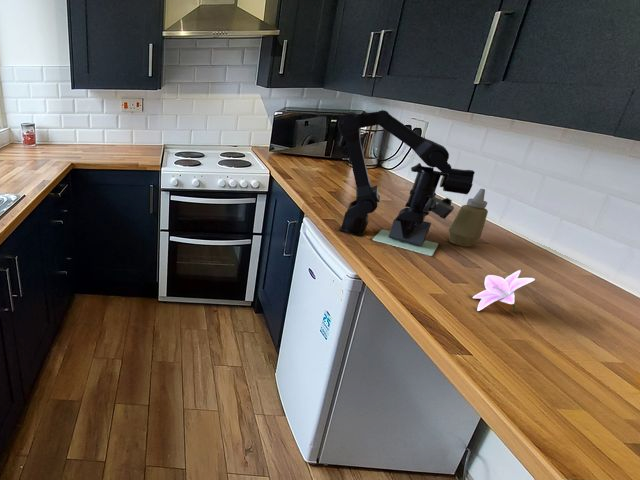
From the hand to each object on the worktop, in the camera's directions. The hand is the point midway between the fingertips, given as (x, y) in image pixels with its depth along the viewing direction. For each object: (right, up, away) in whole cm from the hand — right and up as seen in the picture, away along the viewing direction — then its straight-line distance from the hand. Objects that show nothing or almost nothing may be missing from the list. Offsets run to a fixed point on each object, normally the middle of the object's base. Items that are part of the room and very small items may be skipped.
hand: (407, 235), depth 126 cm
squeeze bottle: (+18, -3, +2) cm, 19 cm away
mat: (0, -2, +1) cm, 2 cm away
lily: (-3, -17, -33) cm, 37 cm away
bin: (0, -1, 0) cm, 1 cm away
